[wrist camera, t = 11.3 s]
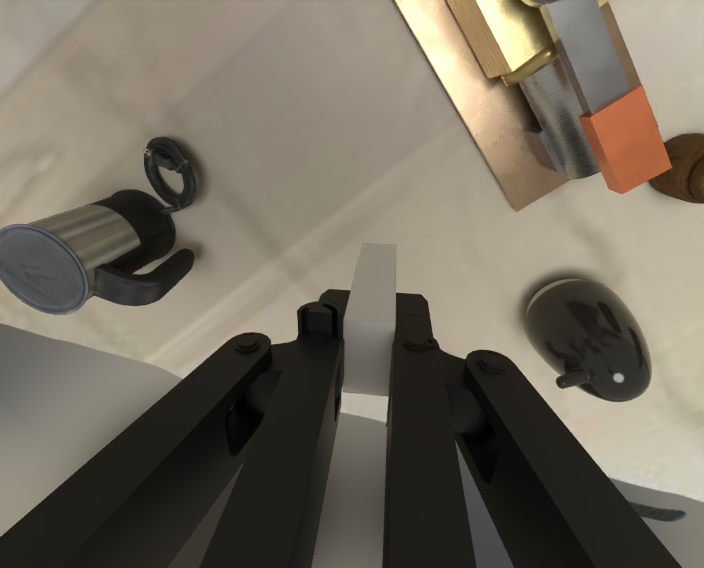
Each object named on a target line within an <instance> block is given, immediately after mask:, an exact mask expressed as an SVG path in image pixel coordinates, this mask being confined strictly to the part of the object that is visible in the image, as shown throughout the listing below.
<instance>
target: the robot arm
mask: <svg viewBox="0 0 704 568" xmlns="http://www.w3.org/2000/svg"><path fill="white" fill-rule="evenodd" d="M297 317H298V337H297V339H296V340H294V341H291V342H288V343H282V344H274V345H271V340H270V339H269V338H268V336H266V335H264V334H261V333H255V332H249V333H243V334H240V335H237V336H235V337H233V338H231V339H230V340H228V341H227V342H226V343H225V344H224V345H222V346H221V347H220V348H219V349H218V350H217V351H216V352H214V353H213V354H212V355H211V356H210V357H209V358H207V359H206V360H205V361H204V362H203V363H202V364H200V365H199V366H198V367H197V368H196V369H195V370H193V371H192V372H191V373H190V374H189V375H188V376H187V377H185V378H184V379H183V380H182V381H181V382H180V383H178V384H177V385H176V386H175V387H174V388H173V389H171V390H170V391H169V392H168V393H167V394H166V395H165V396H164V397H162V398H161V399H160V400H159V401H158V402H156V403H155V404H154V405H153V406H152V407H151V408H149V409H148V410H147V411H146V412H145V413H144V414H142V415H141V416H140V417H139V418H138V419H137V420H136V421H135V422H133V423H132V424H131V425H130V426H129V427H127V428H126V429H125V430H124V431H123V432H122V433H120V434H119V435H118V436H117V437H116V438H115V439H114V440H112V441H111V442H110V443H109V444H108V445H107V446H105V447H104V448H103V449H102V450H101V451H100V452H98V453H97V454H96V455H95V456H94V457H93V458H92V459H90V460H89V461H88V462H87V463H86V464H85V465H83V466H82V467H81V468H80V469H79V470H78V471H76V472H75V473H74V474H73V475H72V476H71V477H70V478H69V479H67V480H66V481H65V482H64V483H63V484H61V485H60V486H59V487H58V488H57V489H56V490H54V491H53V492H52V493H51V494H50V495H49V496H47V497H46V498H45V499H44V500H43V501H42V502H41V503H39V504H38V505H37V506H36V507H35V508H34V509H32V510H31V511H30V512H29V513H28V514H27V515H25V516H24V517H23V518H22V519H21V520H20V521H19V522H17V523H16V524H15V525H14V526H13V527H12V528H10V529H9V530H8V531H7V532H6V533H5V534H3V536H1V537H0V568H168V566H169V565H170V563H171V562H172V561H173V559H174V558H175V557H176V555H177V554H178V552H179V551H180V550H181V548H182V547H183V546H184V544H185V543H186V541H187V540H188V539H189V537H190V536H191V534H192V533H193V532H194V530H195V529H196V527H197V526H198V525H199V523H200V522H201V520H202V519H203V518H204V516H205V515H206V514H207V512H208V511H209V509H210V508H211V507H212V505H213V504H214V502H215V501H216V500H217V498H218V497H219V495H220V494H221V493H222V491H223V490H224V489H225V487H226V486H227V484H228V483H229V482H230V480H231V479H232V477H233V476H234V475H235V473H236V472H237V470H238V469H239V467H240V466H241V465H242V464H243V462H244V464H243V466H242V469H241V471H240V473H239V476H238V478H237V481H236V483H235V485H234V488H233V490H232V492H231V494H230V497H229V499H228V501H227V504H226V506H225V509H224V511H223V513H222V516H221V518H220V520H219V523H218V525H217V527H216V530H215V532H214V535H213V537H212V539H211V542H210V544H209V546H208V549H207V551H206V553H205V556H204V558H203V560H202V563H201V565H200V567H199V568H311V566H312V560H313V555H314V549H315V545H316V539H317V534H318V528H319V523H320V517H321V512H322V506H323V501H324V495H325V490H326V484H327V479H328V473H329V468H330V462H331V457H332V451H333V446H334V440H335V435H336V429H337V424H338V419H339V413H340V408H341V391H342V386H343V392H348V393H358V394H369V395H380V396H389V400H388V412H387V423H386V427H387V446H386V475H385V505H384V533H383V534H384V535H383V562H382V568H477V567H476V562H475V556H474V550H473V544H472V538H471V532H470V526H469V520H468V514H467V508H466V503H465V497H464V491H463V485H462V479H461V473H460V467H459V461H458V455H457V449H456V443H457V444H458V447H459V449H460V451H461V453H462V455H463V458H464V460H465V462H466V464H467V466H468V469H469V470H470V473H471V475H472V477H473V479H474V482H475V484H476V486H477V488H478V490H479V492H480V495H481V497H482V499H483V501H484V503H485V506H486V508H487V510H488V512H489V514H490V516H491V519H492V521H493V523H494V525H495V527H496V529H497V532H498V534H499V536H500V538H501V540H502V542H503V545H504V547H505V549H506V551H507V553H508V556H509V558H510V560H511V562H512V564H513V566H514V568H682V567H681V566H680V565H679V563H678V562H677V561H676V560H675V559H674V558H673V556H672V555H671V554H670V553H669V551H668V550H667V549H666V548H665V546H664V545H663V544H662V543H661V542H660V540H659V539H658V538H657V537H656V536H655V534H654V533H653V532H652V531H651V529H650V528H649V527H648V526H647V525H646V523H645V522H644V521H643V520H642V518H641V517H640V516H639V515H638V514H637V512H636V511H635V510H634V509H633V507H632V506H631V505H630V504H629V503H628V501H627V500H626V499H625V498H624V496H623V495H622V494H621V493H620V492H619V490H618V489H617V488H616V487H615V486H614V484H613V483H612V482H611V481H610V479H609V478H608V477H607V476H606V475H605V473H604V472H603V471H602V470H601V468H600V467H599V466H598V465H597V464H596V462H595V461H594V460H593V459H592V457H591V456H590V455H589V454H588V453H587V451H586V450H585V449H584V448H583V447H582V445H581V444H580V443H579V442H578V440H577V439H576V438H575V437H574V436H573V434H572V433H571V432H570V431H569V429H568V428H567V427H566V426H565V425H564V423H563V422H562V421H561V420H560V419H559V417H558V416H557V415H556V414H555V412H554V411H553V410H552V409H551V408H550V406H549V405H548V404H547V403H546V401H545V400H544V399H543V398H542V397H541V395H540V394H539V393H538V392H537V390H536V389H535V388H534V387H533V386H532V384H531V383H530V382H529V381H528V380H527V378H526V377H525V376H524V375H523V373H522V372H521V371H520V370H519V369H518V367H517V366H516V365H515V364H514V363H513V362H512V361H511V360H510V359H509V358H508V357H506V356H504V355H502V354H500V353H498V352H495V351H490V350H476V351H472V352H471V353H469V354H468V355H467V357H466V359H462V358H459V357H455V356H453V355H450V354H448V353H446V352H444V351H442V350H441V349H440V348H439V344H438V342H437V340H436V339H434V338H433V333H432V326H431V320H430V313H429V307H428V301H427V300H426V299H425V298H424V297H423V296H422V295H421V294H407V293H396V245H389V244H372V243H363V244H362V248H361V252H360V256H359V260H358V264H357V268H356V272H355V276H354V280H353V284H352V288H351V291H349V290H335V289H328V290H327V291H326V292H324V293H323V294H322V295H321V296H320V299H319V301H318V302H311V303H307V304H305V305H303V306H301V307H300V308H299V309H298V310H297ZM455 440H456V443H455Z"/></svg>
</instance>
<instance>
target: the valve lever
mask: <svg viewBox="0 0 704 568" xmlns="http://www.w3.org/2000/svg"><path fill="white" fill-rule="evenodd" d="M522 1H523V2H524V3H525V4H527V5H529V6H531V7H536V8H539V9H540V11H541V14H542V16H543V18H544V21H545V23H546V25H547V28H548V30H549V33H550V35H551V37H552V40H553V42H554V44H555V47H556V49H557V51H558V54H559V56H560V59H561V61H562V63H563V66H564V68H565V70H566V73H567V75H568V77H569V80H570V82H571V85H572V87H573V89H574V92H575V94H576V96H577V99H578V101H579V104H580V106H581V108H582V111H583V114H582V115H580V116H578V119H579V121H580V123H581V126H582V128H583V130H584V133H585V135H586V137H587V140H588V142H589V144H590V147H591V149H592V151H593V154H594V156H595V158H596V161H597V163H598V165H599V168H600V170H601V172H602V175H603V177H604V179H605V182H606V184H607V186H608V188H609V189H610V190H612V191H615V192H617V193H620V194H623V193H625V192H627V191H629V190H631V189H633V188H635V187H637V186H638V185H640V184H642V183H644V182H646V181H648V180H650V179H652V178H654V177H655V176H657V175H659V174H661V173H663V172H665V171H667V170H669V169H671V168H672V166H671V163H670V160H669V158H668V155H667V152H666V149H665V146H664V144H663V141H662V138H661V135H660V133H659V130H658V127H657V124H656V121H655V119H654V116H653V113H652V110H651V108H650V105H649V102H648V99H647V96H646V94H645V91H644V88H643V85H641V86H629V85H628V82H627V80H626V77H625V74H624V72H623V69H622V66H621V64H620V61H619V58H618V56H617V53H616V50H615V48H614V45H613V42H612V39H611V37H610V34H609V31H608V29H607V26H606V23H605V21H604V18H603V15H602V13H601V10H600V7H599V4H598V2H597V0H522Z"/></svg>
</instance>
